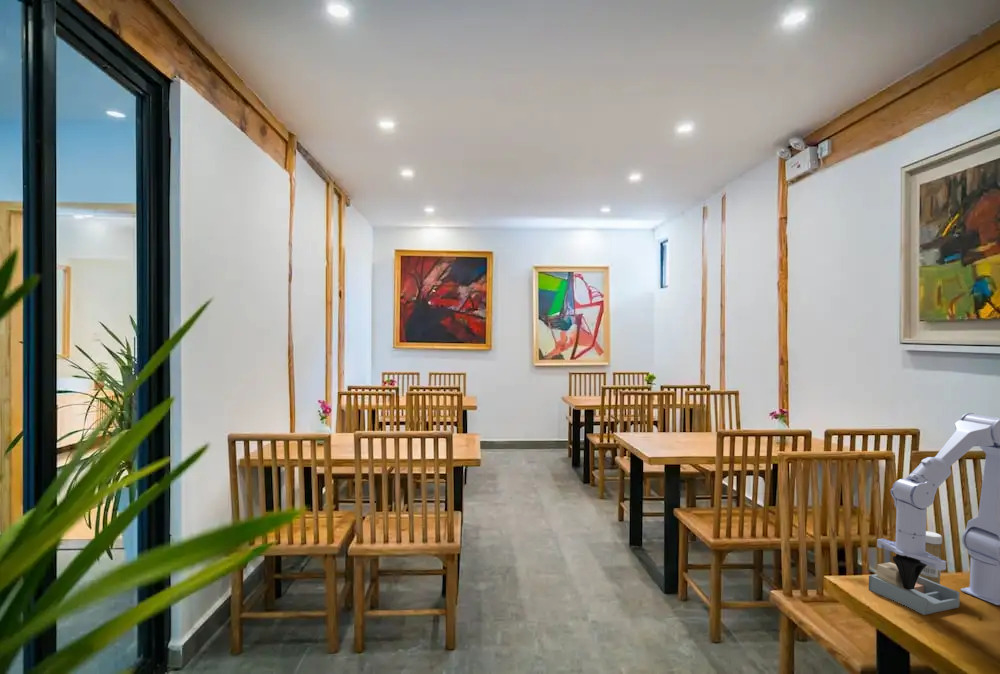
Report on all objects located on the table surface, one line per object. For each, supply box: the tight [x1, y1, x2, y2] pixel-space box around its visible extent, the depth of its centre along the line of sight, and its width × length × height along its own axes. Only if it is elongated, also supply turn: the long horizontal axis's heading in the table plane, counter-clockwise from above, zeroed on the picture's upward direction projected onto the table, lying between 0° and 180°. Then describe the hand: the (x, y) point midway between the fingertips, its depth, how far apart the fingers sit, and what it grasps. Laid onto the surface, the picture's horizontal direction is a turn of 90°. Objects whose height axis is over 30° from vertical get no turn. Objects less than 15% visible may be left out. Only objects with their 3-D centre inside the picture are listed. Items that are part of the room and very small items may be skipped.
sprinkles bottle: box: [919, 530, 943, 585], centre depth 140 cm, size 5×5×14 cm
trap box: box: [868, 573, 961, 616], centre depth 134 cm, size 12×13×4 cm
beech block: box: [876, 561, 905, 589], centre depth 136 cm, size 4×4×4 cm
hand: (908, 588), depth 133 cm, fingers closed
